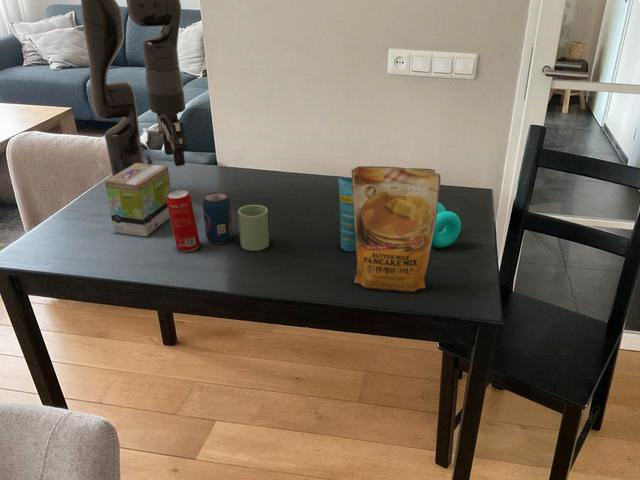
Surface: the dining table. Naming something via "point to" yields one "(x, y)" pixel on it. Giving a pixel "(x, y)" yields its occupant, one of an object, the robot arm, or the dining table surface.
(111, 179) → the tea box
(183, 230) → the beverage can
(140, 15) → the robot arm
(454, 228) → the donuts
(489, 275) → the dining table surface
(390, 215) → the pancake mix bag
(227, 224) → the soda can
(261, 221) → the tumbler
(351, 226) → the tube
